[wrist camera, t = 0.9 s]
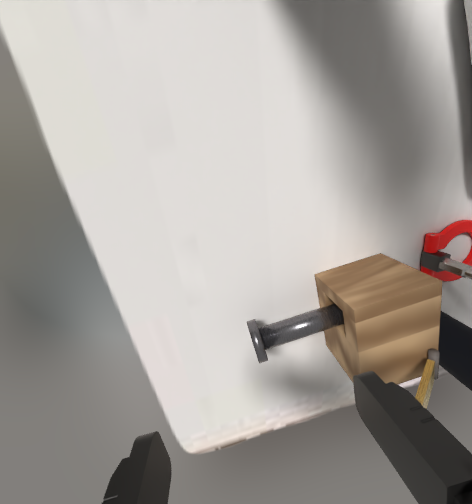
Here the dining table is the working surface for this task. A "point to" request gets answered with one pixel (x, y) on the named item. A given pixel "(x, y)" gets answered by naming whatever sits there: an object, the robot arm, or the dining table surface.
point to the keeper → (426, 383)
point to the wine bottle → (455, 348)
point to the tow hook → (439, 261)
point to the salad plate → (469, 21)
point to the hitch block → (383, 317)
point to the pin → (293, 328)
